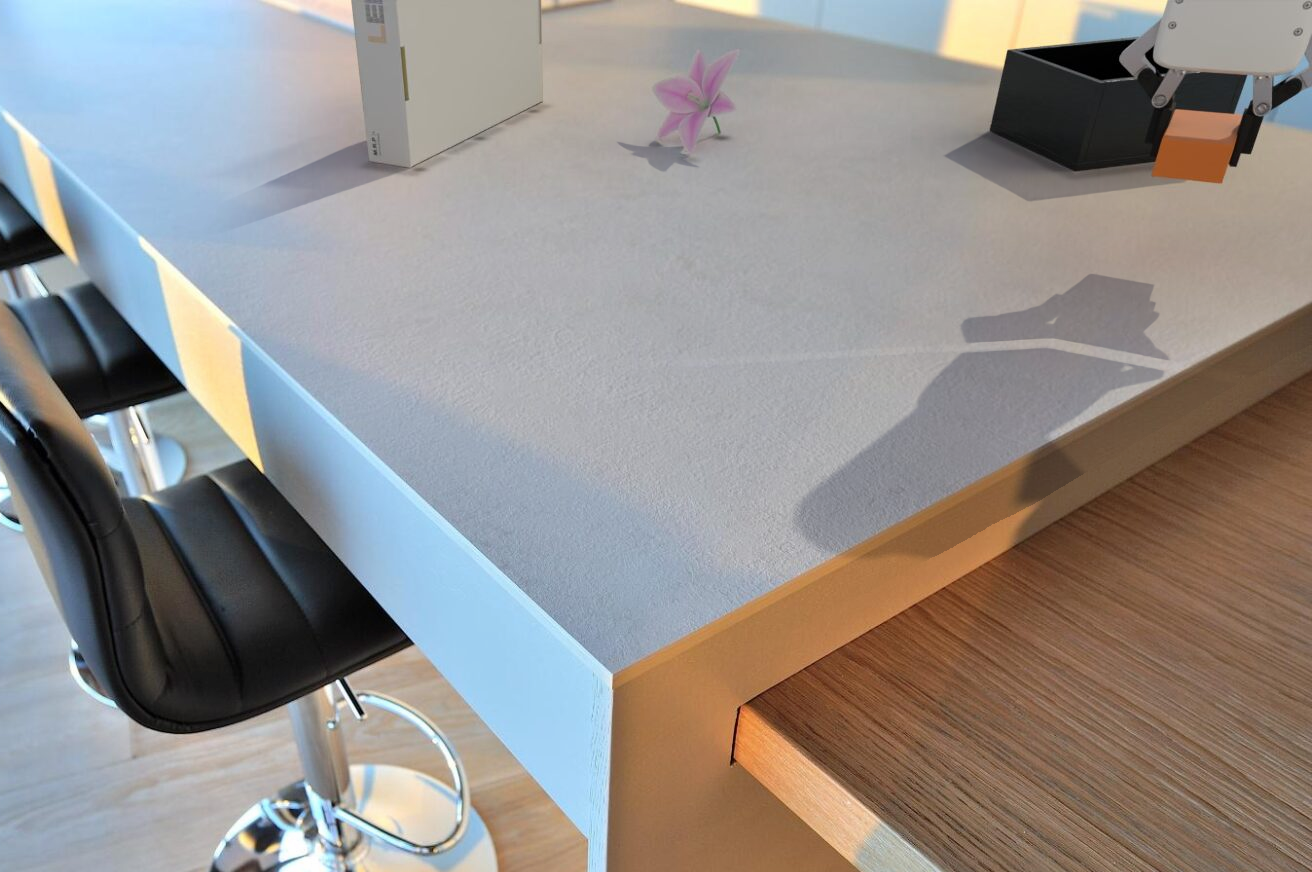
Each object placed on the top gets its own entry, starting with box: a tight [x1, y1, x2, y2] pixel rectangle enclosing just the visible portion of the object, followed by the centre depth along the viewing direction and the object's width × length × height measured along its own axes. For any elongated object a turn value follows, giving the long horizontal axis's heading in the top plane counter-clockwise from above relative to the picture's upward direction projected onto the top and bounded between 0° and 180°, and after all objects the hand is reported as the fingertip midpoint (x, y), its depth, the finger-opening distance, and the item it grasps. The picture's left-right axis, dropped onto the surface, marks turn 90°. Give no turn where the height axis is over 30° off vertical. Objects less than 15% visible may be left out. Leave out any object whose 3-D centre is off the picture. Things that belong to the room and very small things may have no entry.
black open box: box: [989, 36, 1248, 172], centre depth 118 cm, size 18×16×9 cm
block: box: [1151, 109, 1243, 185], centre depth 88 cm, size 9×5×3 cm, turn 148°
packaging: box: [350, 0, 544, 169], centre depth 128 cm, size 30×6×20 cm, turn 149°
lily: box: [651, 48, 741, 155], centre depth 124 cm, size 12×12×10 cm
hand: (1194, 155), depth 89 cm, fingers closed on block, 5 cm apart
